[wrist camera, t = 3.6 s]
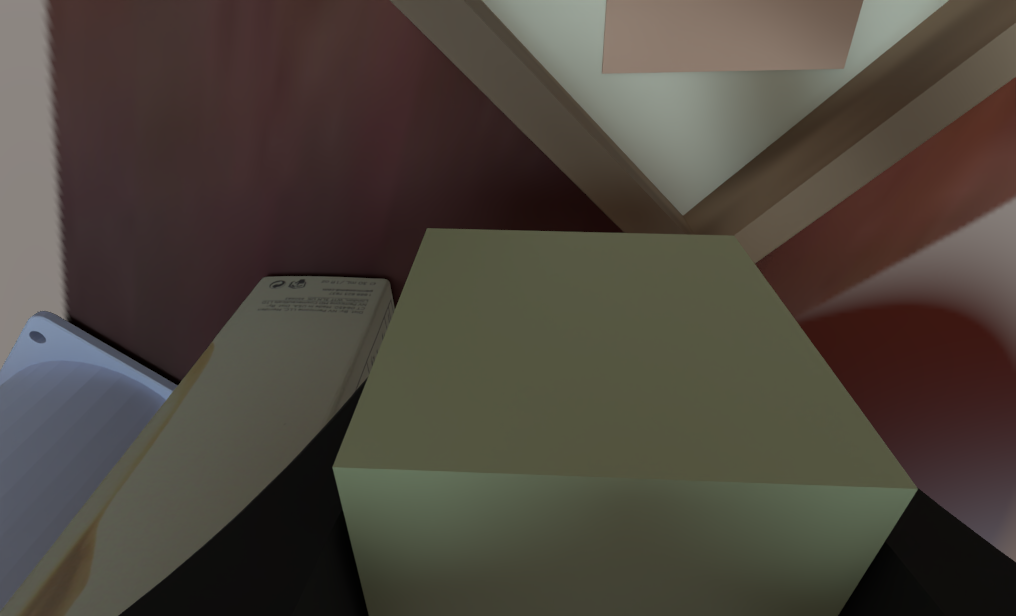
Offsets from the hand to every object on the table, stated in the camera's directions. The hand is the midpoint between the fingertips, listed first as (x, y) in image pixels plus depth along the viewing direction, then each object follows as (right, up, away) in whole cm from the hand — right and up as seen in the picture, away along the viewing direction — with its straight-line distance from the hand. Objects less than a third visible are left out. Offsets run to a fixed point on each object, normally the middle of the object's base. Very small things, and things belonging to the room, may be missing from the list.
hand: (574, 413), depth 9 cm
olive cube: (0, +1, +1) cm, 2 cm away
